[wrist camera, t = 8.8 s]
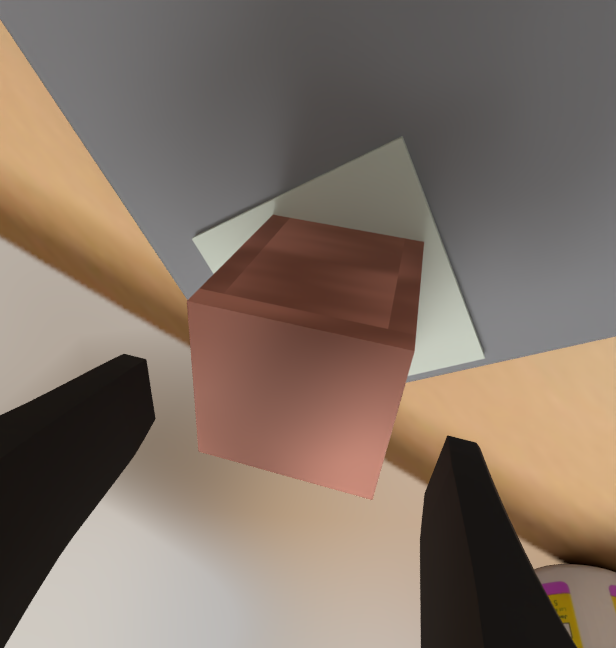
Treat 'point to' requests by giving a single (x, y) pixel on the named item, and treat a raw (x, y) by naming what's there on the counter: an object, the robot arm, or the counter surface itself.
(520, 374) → the counter surface
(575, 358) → the counter surface
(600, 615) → the supplement bottle
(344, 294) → the rimmed copper cube
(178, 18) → the board
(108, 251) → the counter surface
